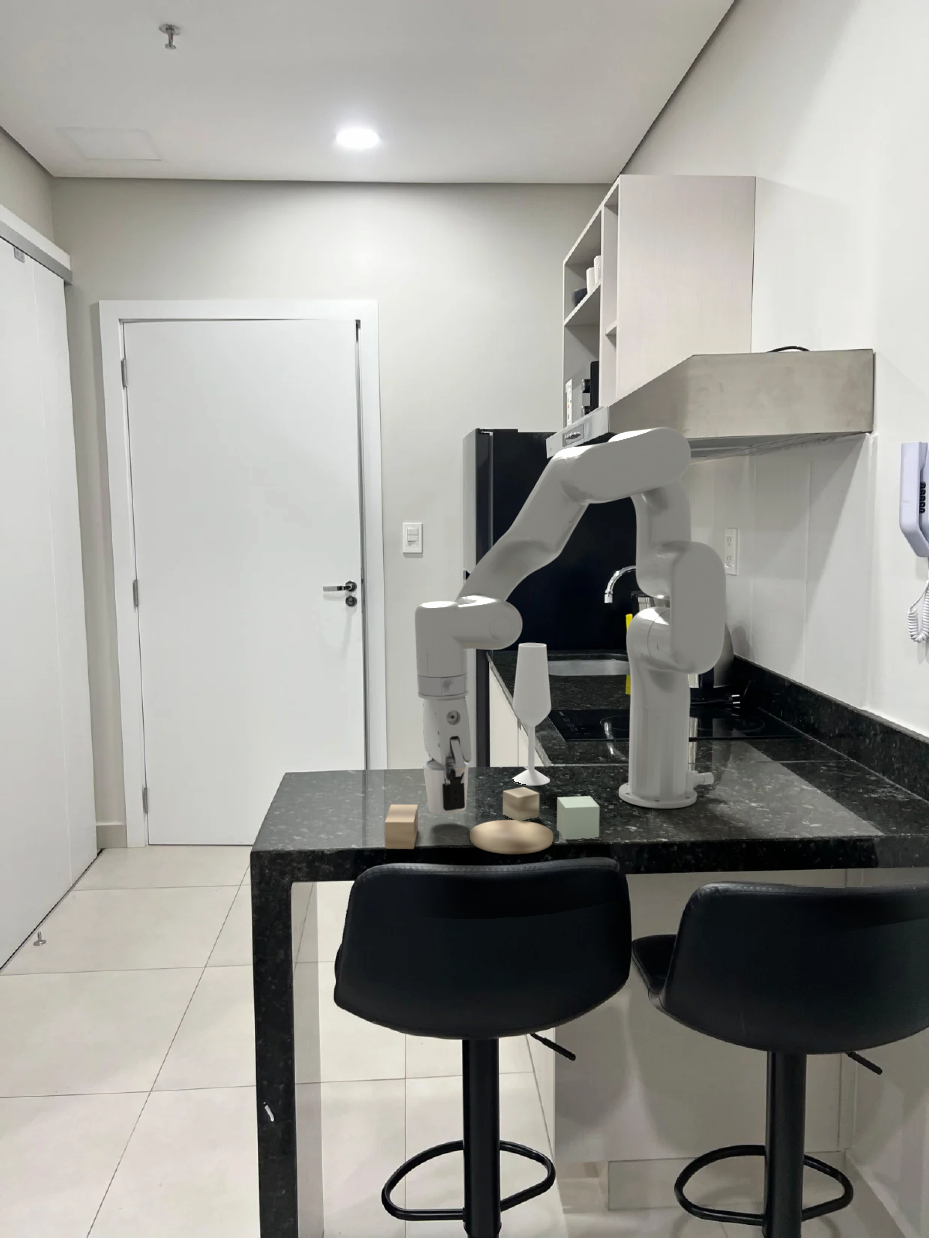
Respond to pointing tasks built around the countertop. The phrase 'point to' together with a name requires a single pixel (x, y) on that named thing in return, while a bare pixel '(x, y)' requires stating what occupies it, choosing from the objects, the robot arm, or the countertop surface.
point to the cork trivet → (511, 837)
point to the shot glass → (440, 786)
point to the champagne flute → (531, 701)
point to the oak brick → (401, 827)
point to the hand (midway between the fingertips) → (447, 801)
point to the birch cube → (521, 803)
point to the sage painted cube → (577, 817)
